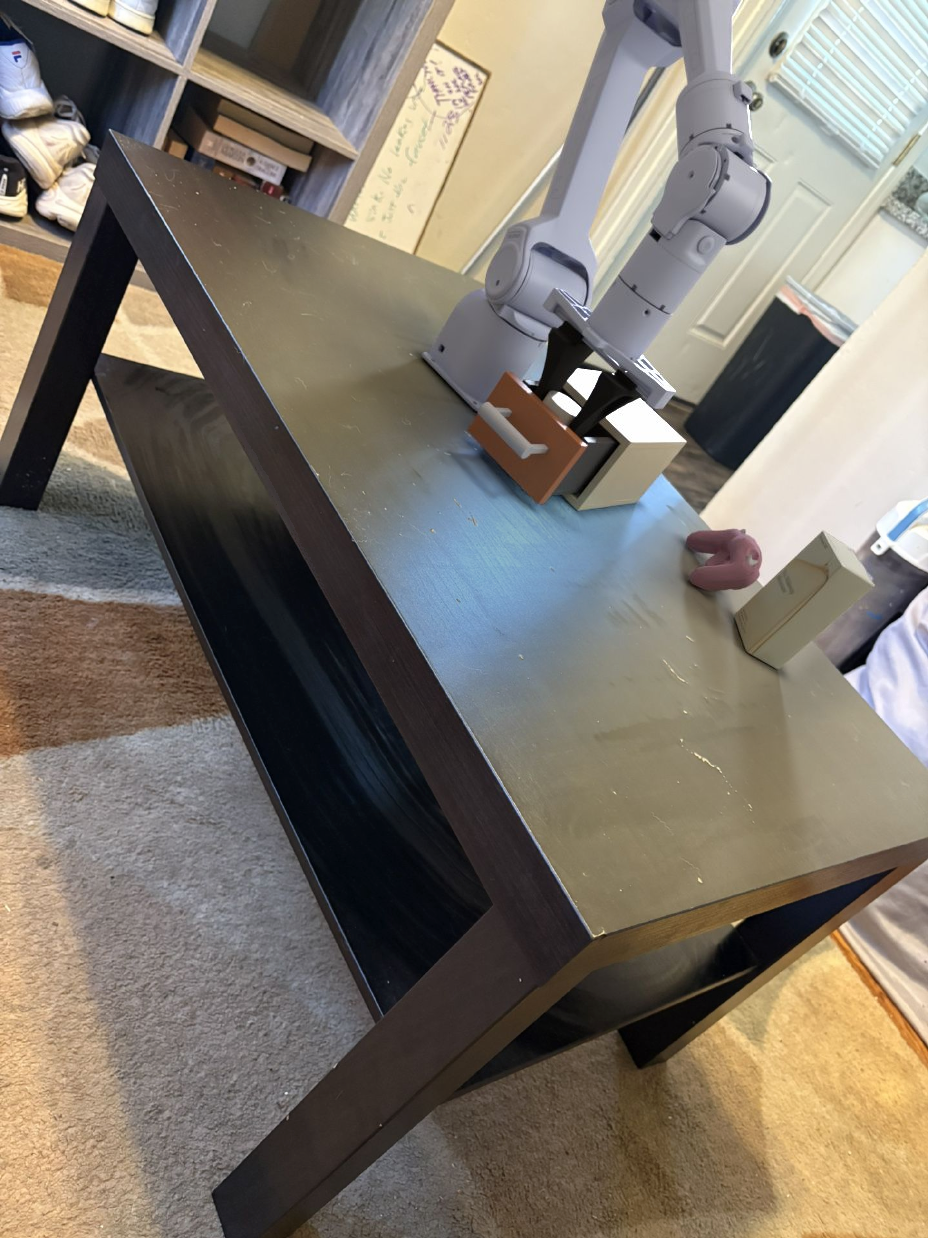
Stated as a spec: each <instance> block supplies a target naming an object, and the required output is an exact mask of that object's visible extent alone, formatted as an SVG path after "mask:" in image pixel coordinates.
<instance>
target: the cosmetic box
mask: <svg viewBox="0 0 928 1238" xmlns="http://www.w3.org/2000/svg"><path fill="white" fill-rule="evenodd" d="M874 587H876V584H875V583H874V582H873V580H872V578H871V576H870V575H869V573H868V570H866V567H865V566H864V565H863V563H862V562H861V560H860V557H859V556H858V555H857V553H856V551H855V550H854V549H853V548H851V547H850V546H849V545H846V544H845V543H843V542H842V541H840V539H837V538H836V537H834V536H833V535H831V534H830V533H828V532H827V531H825V530H821V531H820V532H819V533H818V534H817V535H816V536H815V537H814V538H813V539H812V540H811V541H810V542H809V543H808V544H807V545H805V547H804V548H803V549H802V550H801V551H799V552H798V553H797V554H796V556H795V557H793V558H792V559H791V560H790V561H789V562H788V563H787V564H786V565H785V566H784V567H782V568H781V570H779V571H778V572H777V573H776V574H775V575H774V576H773V577H772V578H771V579H770V580H769V581H768V582H767V583H765V584H764V586H763V587H762V588H761V589H759V590H758V591H757V592H756V593H755V594H754V595H753V596H752V597H751V598H750V599H749V600H748V601H747V602H746V603H744V605H743V606H741V607H740V609H739V610H737V612H735V613H734V614H733V615H734V616H733V617H734V619H735V623H736V625H737V626H736V627H737V628H738V631H739V634H740V638H741V640H742V643H743V647H744V649H745V651H746V653H748V654H750V655H751V656H753V657H755V658H757V659H758V660H760V661H762V662H764V663H765V664H767V665H769V666H771V667H773V668H774V669H776V670H780V669H781V668H783V667H784V666H785V665H786V664H787V663H788V662H789V661H791V660H792V659H793V658H795V656H796V655H797V654H799V653H800V652H801V651H802V650H803V649H805V648H806V647H807V646H808V645H809V644H810V643H811V642H812V641H814V640H815V639H816V638H817V637H818V636H819V635H820V634H821V633H823V632H824V631H825V630H826V629H827V628H829V627H830V626H831V625H832V624H833V623H835V621H837V620H838V619H840V617H842V615H844V614H845V613H846V612H847V611H848V610H849V609H850V608H852V607H853V606H854V605H856V603H857V602H859V601H860V600H861V599H862V598H863V597H864V596H865V595H866V594H868V593H869V592H870V591H871V590H872V589H873V588H874Z"/></svg>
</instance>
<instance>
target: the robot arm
mask: <svg viewBox="0 0 928 1238" xmlns="http://www.w3.org/2000/svg"><path fill="white" fill-rule="evenodd" d="M742 2H743V0H605V2H604V5H603V8H602V11H601V17H602V20H603V24H604V25H603V26H604V29H603V31H602V33H601V36H600V39H599V42H598V45H597V46H596V47H597V48H596V50H595V53H594V56H593V59H592V61H591V65H590V68H589V70H588V73H587V77H586V80H585V82H584V85H583V89H582V91H581V93H580V97H579V98H578V103H577V105H576V107H575V111H574V113H573V117H572V120H571V122H570V125H569V129H568V132H567V134H566V137H565V140H564V143H563V145H562V148H561V151H560V155H559V157H558V159H557V163H556V166H555V169H554V172H553V175H552V177H551V181H550V183H549V185H548V189H547V192H546V195H545V197H544V200H543V204H542V206H541V209H540V211H539V215H538V216H534V217H532V218H527V219H525V220H521V221H519V222H516V223H515V224H512V225H511V226H509V227H508V228H507V230H506V232H505V234H504V237H503V239H502V241H501V243H500V246H499V247H498V249H497V251H496V252H495V253H494V255H493V256H492V258H491V260H490V262H489V264H488V267H487V270H486V273H485V277H484V288H479V289H474V290H472V291H470V292H469V293H467V294H466V295H465V296H463V298H462V299H460V301H458V302H457V304H455V306H454V308H453V309H452V311H451V313H450V315H449V316H448V318H447V320H446V321H445V323H444V325H443V326H442V328H441V329H440V332H439V333H438V335H437V337H436V338H435V340H434V342H433V343H432V345H431V347H430V349H429V350H428V351H423V352H422V354H421V357H422V358H423V359H424V360H425V361H426V362H427V363H428V364H429V366H430V367H432V369H433V370H435V372H437V374H439V376H441V378H442V379H443V380H444V381H445V382H446V383H447V384H448V385H449V386H450V387H451V388H452V389H453V390H454V391H455V392H456V393H457V394H458V395H459V396H460V397H461V399H463V400H464V401H465V402H466V403H467V404H468V405H469V407H471V409H473V411H475V412H477V413H478V410H479V408H480V407H481V405H482V404H484V403H485V402H486V400H487V398H488V397H489V395H490V394H491V392H492V391H493V389H494V388H495V386H496V385H497V383H498V382H499V380H500V379H501V377H502V376H503V374H504V373H505V371H506V372H513V373H514V374H515V375H516V376H517V377H518V378H519V379H520V380H521V381H522V380H523V378H524V377H525V375H526V374H527V372H528V371H529V369H530V368H531V366H532V365H533V363H534V362H535V360H536V359H537V357H538V356H539V355H540V353H541V351H542V350H543V349H544V347H545V345H546V344H547V347H546V356H545V360H544V366H543V369H542V373H541V376H540V378H541V379H540V378H539V380H540V382H539V385H538V387H537V390H536V393H535V395H536V396H537V397H538V398H539V399H540V400H541V401H543V400H544V398H545V397H546V396H547V394H548V393H549V391H557V392H560V391H561V389H562V388H563V386H564V385H565V383H566V382H567V380H568V379H569V378H570V377H571V375H572V374H573V373H574V372H575V371H576V370H577V369H579V368H580V366H582V365H583V363H584V362H585V361H586V360H587V359H588V358H589V357H590V356H591V355H592V354H593V353H596V354H597V355H598V356H599V357H600V358H601V360H603V361H604V362H605V363H606V364H607V365H608V366H610V367H611V368H612V369H613V370H614V371H615V372H614V373H613V372H608V371H600V372H601V373H600V375H599V377H598V379H597V381H596V384H595V386H594V388H593V390H592V392H591V394H590V395H589V397H588V399H587V401H586V402H585V404H584V406H583V407H582V409H581V410H580V411H579V413H578V414H577V415H576V417H575V418H574V419H573V420H572V422H571V423H570V424H569V426H568V427H569V428H570V429H571V430H572V431H573V432H574V433H575V434H576V435H577V436H578V437H579V438H581V437H582V436H583V435H584V434H585V433H586V432H587V431H589V430H590V429H591V428H592V427H593V426H595V425H596V424H597V423H598V422H600V421H601V420H603V419H604V418H605V417H607V416H608V415H610V414H612V413H613V412H615V411H617V410H618V409H620V408H622V407H624V406H626V405H628V404H630V403H632V402H634V401H636V400H638V399H639V398H640V399H642V397H643V398H644V399H645V403H646V404H647V405H648V406H649V407H650V408H651V409H657V410H663V409H664V408H665V406H666V405H667V404H668V403H669V401H670V400H671V399H672V397H673V396H674V395H675V394H676V393H677V390H675V389H674V388H673V387H672V386H671V385H670V384H669V382H667V381H666V380H665V379H664V377H663V376H662V375H660V373H659V372H658V371H657V370H656V369H655V368H654V367H653V365H652V364H651V363H650V362H649V361H648V360H647V358H645V356H644V354H645V352H646V351H647V349H648V348H649V347H650V345H651V344H652V343H653V341H654V340H655V339H656V337H658V335H659V334H660V332H661V331H662V329H663V328H664V327H665V325H667V323H668V321H669V320H670V318H671V317H672V316H673V314H674V313H675V312H676V311H677V310H678V308H679V307H680V306H681V304H682V303H683V301H684V300H685V299H686V297H687V296H688V295H689V293H690V292H691V291H692V289H693V288H694V287H695V286H696V284H697V283H698V281H699V280H700V279H701V278H702V276H703V275H704V274H705V272H706V271H707V270H708V268H709V267H710V266H711V264H712V263H713V261H714V260H715V259H716V257H717V256H718V255H719V253H720V252H721V250H722V249H723V248H724V247H725V246H734V245H737V244H739V243H741V242H743V241H744V240H746V239H747V238H748V237H750V236H751V235H752V234H753V233H754V232H755V231H756V230H757V229H758V228H759V226H760V225H761V223H762V222H763V220H764V219H765V217H766V215H767V212H768V210H769V207H770V204H771V199H772V188H773V181H772V179H771V177H769V175H768V174H766V173H765V172H764V171H762V170H760V169H758V165H757V164H756V163H755V162H754V152H755V150H756V149H755V140H754V138H752V131H751V120H750V119H751V117H750V109H749V108H750V107H749V105H751V104H752V103H753V102H754V94H753V89H752V88H751V87H750V86H749V85H748V84H747V83H745V82H744V81H743V80H742V78H740V77H739V76H738V75H736V74H733V73H732V72H733V71H732V70H733V18H734V17H735V15H736V13H737V11H738V10H739V8H740V6H741V5H742ZM682 58H683V64H684V70H685V77H686V85H685V86H684V87H683V89H682V90H681V91H680V93H679V94H678V97H677V99H676V103H675V108H674V109H675V124H676V125H675V126H676V143H677V145H676V146H677V157H678V158H677V160H678V161H676V163H674V165H673V167H672V168H671V171H670V172H669V175H668V177H667V180H666V183H665V186H664V189H663V194H662V197H661V199H660V201H659V203H658V205H657V206H656V207H655V209H654V210H653V212H652V213H651V214H652V217H651V218H650V224H651V227H650V228H649V229H648V231H647V233H646V234H645V235H644V237H643V238H642V240H641V241H640V242H639V244H638V246H636V248H635V250H633V252H632V254H631V255H630V257H629V258H628V260H627V261H626V263H625V264H624V265H623V267H622V269H621V270H620V271H619V273H618V274H617V276H616V277H615V279H614V280H613V281H612V282H611V284H610V286H609V287H608V289H607V290H606V291H605V293H604V294H603V296H602V297H601V299H600V300H599V301H598V303H597V305H596V306H595V307H594V309H593V310H592V311H591V310H590V309H591V306H592V302H593V294H594V293H593V291H594V282H595V277H596V274H597V272H598V268H599V262H598V259H597V257H596V253H595V250H594V248H593V246H592V243H591V238H590V232H591V230H592V226H593V224H594V221H595V218H596V214H597V212H598V209H599V207H600V204H601V202H602V198H603V195H604V193H605V190H606V187H607V185H608V181H609V179H610V175H611V173H612V171H613V167H614V164H615V162H616V159H617V156H618V153H619V150H620V148H621V145H622V142H623V139H624V137H625V133H626V131H627V128H628V125H629V123H630V120H631V117H632V115H633V111H634V109H635V105H636V104H637V100H638V97H639V94H640V92H641V89H642V87H643V83H644V81H645V78H646V75H647V73H648V71H649V70H650V69H651V68H669V67H671V66H672V65H673V64H675V63H676V62H678V61H679V60H681V59H682ZM612 373H613V374H612Z"/></svg>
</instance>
